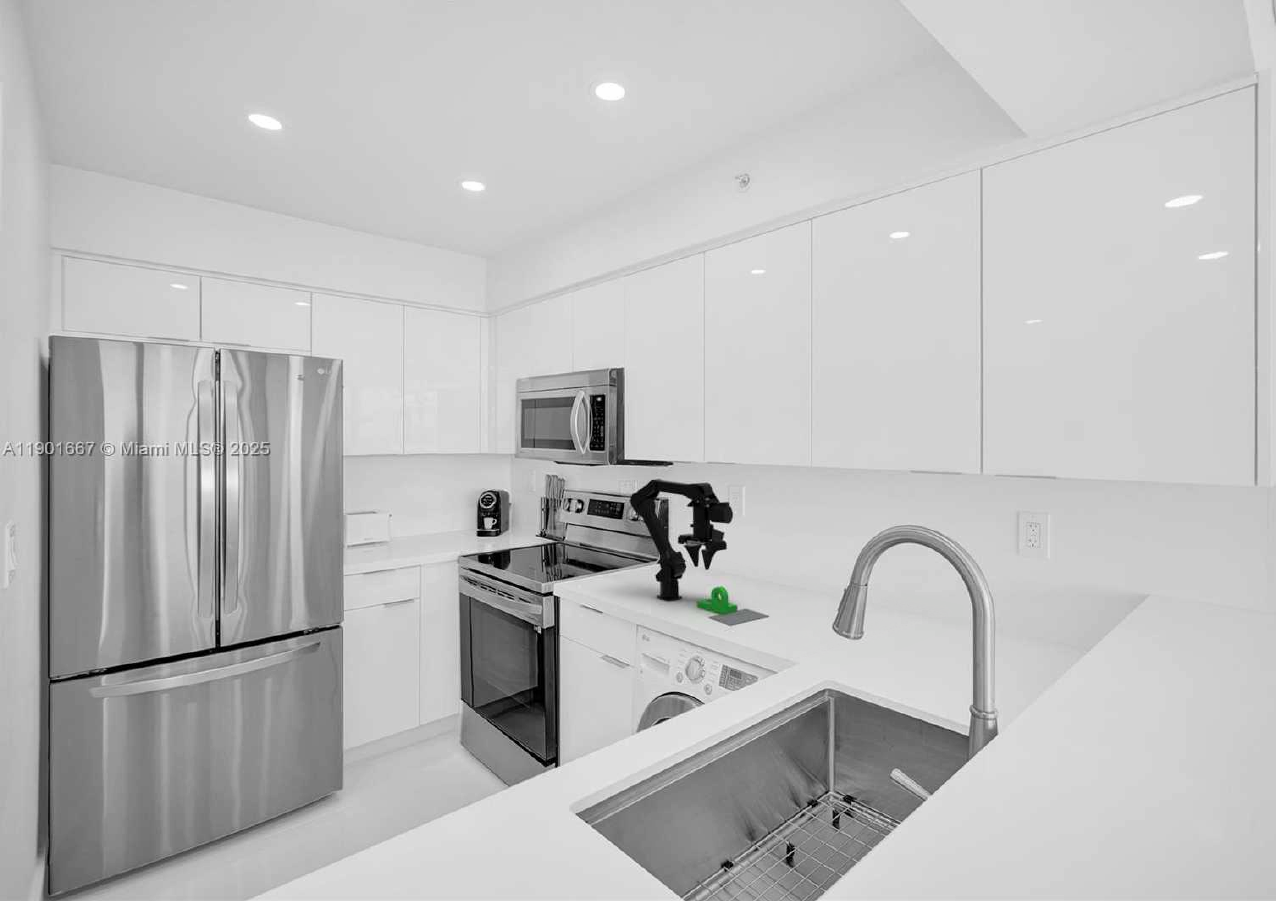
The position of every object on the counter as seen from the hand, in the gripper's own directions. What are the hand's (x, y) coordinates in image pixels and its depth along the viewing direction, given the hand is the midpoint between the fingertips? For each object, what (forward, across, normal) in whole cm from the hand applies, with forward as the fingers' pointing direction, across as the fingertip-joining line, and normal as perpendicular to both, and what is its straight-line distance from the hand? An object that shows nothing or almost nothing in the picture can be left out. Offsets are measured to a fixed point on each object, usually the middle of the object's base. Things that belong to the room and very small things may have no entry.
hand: (701, 568), depth 205 cm
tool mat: (+12, -18, 0) cm, 21 cm away
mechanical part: (+12, -8, 0) cm, 14 cm away
